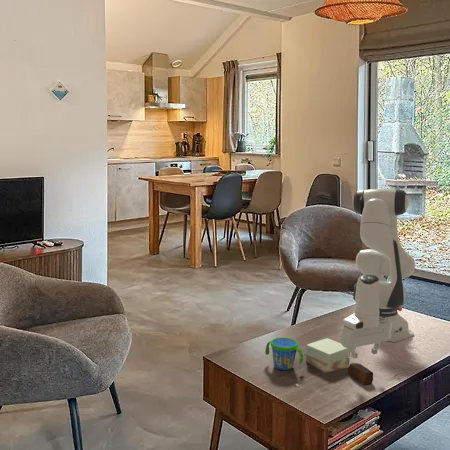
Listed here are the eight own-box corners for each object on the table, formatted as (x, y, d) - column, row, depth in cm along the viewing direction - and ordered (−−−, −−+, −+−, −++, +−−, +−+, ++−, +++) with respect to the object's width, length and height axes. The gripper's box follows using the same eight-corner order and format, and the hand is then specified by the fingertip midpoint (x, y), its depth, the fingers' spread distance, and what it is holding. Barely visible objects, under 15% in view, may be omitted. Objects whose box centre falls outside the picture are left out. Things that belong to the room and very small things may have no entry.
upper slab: (326, 347, 226) (327, 338, 225) (349, 356, 216) (350, 347, 216) (306, 354, 218) (306, 344, 218) (329, 364, 209) (329, 354, 208)
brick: (373, 384, 201) (373, 372, 200) (364, 385, 200) (364, 373, 199) (356, 372, 211) (356, 360, 210) (347, 374, 209) (348, 362, 209)
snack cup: (308, 368, 214) (308, 343, 212) (292, 377, 206) (293, 351, 204) (275, 357, 224) (275, 333, 222) (259, 365, 216) (260, 341, 214)
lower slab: (330, 357, 226) (330, 347, 225) (349, 368, 215) (349, 358, 215) (305, 362, 221) (306, 352, 220) (324, 373, 210) (324, 364, 209)
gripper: (382, 313, 209) (380, 348, 211) (339, 320, 200) (337, 356, 202) (394, 318, 204) (391, 354, 206) (350, 325, 195) (348, 363, 197)
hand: (364, 355), depth 204 cm, fingers open, 8 cm apart
